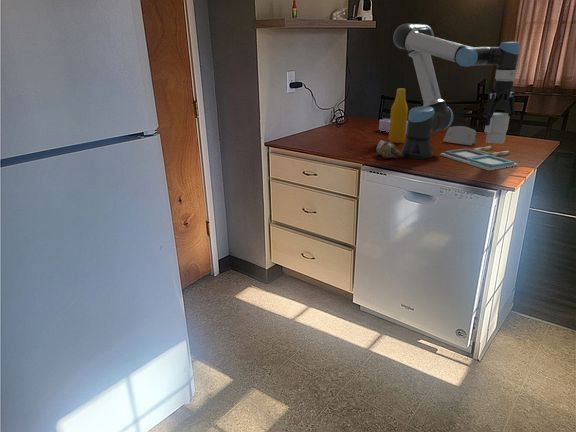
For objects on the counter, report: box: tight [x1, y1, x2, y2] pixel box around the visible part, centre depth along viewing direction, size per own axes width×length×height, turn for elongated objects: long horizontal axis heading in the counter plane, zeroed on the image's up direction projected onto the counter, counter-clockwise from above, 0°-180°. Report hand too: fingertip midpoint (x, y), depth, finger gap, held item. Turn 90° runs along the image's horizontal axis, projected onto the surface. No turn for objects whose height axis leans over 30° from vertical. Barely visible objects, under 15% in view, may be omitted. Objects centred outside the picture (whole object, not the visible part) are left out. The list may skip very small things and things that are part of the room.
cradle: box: [471, 145, 511, 157], centre depth 222 cm, size 13×12×2 cm
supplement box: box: [485, 112, 508, 145], centre depth 196 cm, size 7×7×13 cm
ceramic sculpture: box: [375, 139, 404, 160], centre depth 214 cm, size 11×9×15 cm
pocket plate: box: [440, 148, 519, 172], centre depth 209 cm, size 18×30×2 cm, turn 25°
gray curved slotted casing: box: [442, 125, 477, 146], centre depth 244 cm, size 17×5×10 cm, turn 50°
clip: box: [378, 118, 408, 136], centre depth 271 cm, size 20×12×7 cm, turn 46°
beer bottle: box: [387, 87, 409, 144], centre depth 242 cm, size 9×9×29 cm
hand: (495, 131), depth 197 cm, fingers closed on supplement box, 10 cm apart
